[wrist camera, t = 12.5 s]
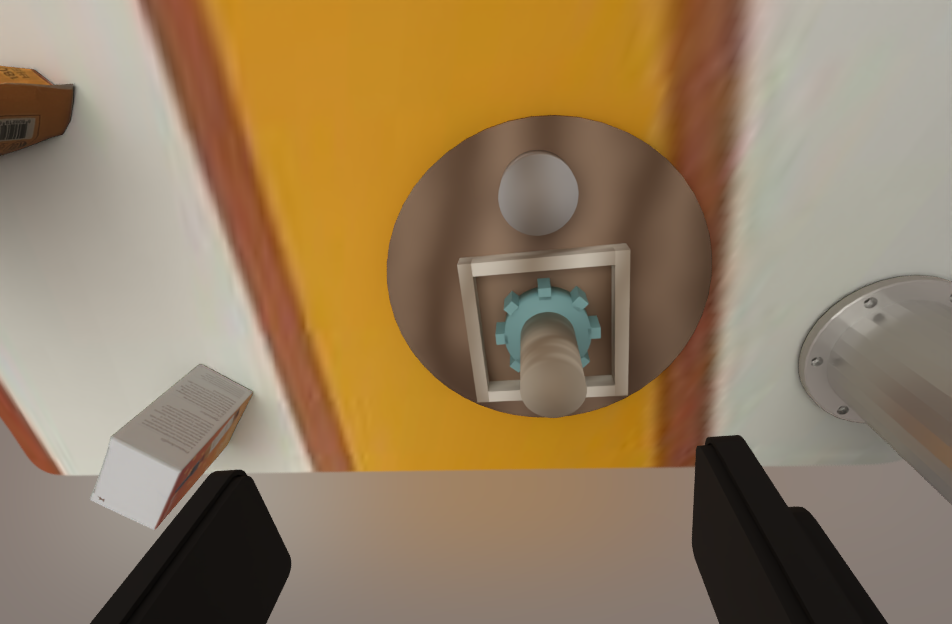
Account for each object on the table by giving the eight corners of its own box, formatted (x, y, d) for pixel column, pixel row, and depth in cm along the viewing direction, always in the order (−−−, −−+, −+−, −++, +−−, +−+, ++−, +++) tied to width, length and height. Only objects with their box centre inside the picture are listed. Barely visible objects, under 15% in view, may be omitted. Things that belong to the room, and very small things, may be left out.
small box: (228, 444, 47) (154, 533, 37) (176, 417, 46) (86, 502, 36) (255, 390, 44) (181, 473, 34) (200, 360, 43) (108, 437, 33)
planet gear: (596, 273, 34) (619, 330, 26) (597, 363, 37) (618, 438, 29) (492, 282, 35) (482, 339, 27) (502, 368, 38) (496, 443, 30)
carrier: (719, 92, 30) (750, 92, 26) (692, 400, 40) (711, 435, 36) (361, 138, 33) (339, 144, 29) (420, 412, 43) (409, 445, 39)
